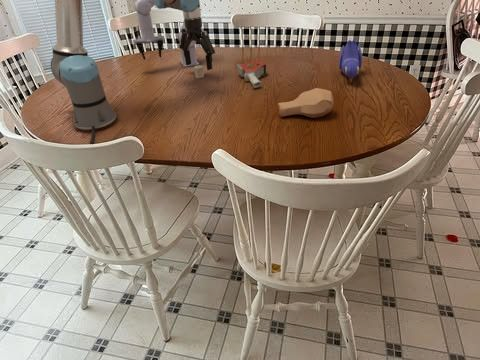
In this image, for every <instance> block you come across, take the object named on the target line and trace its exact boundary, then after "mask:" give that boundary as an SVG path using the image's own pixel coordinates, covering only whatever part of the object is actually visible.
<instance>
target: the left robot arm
mask: <svg viewBox="0 0 480 360" xmlns="http://www.w3.org/2000/svg"><path fill="white" fill-rule="evenodd" d="M153 2H154V4H155V5H154V6H155V7H156V8H157V9H159V10H163V9H173V10H178V11H182V14H183V15H182V16H183V22H184V23H185V28H183V29H182V36H181V41H180V42H179V50H181V49H182V50H183V52H184V57H185V61H186V65H190V64H191V58H190V51H189V50H187V49H188V48H189V46H190V44H191V42H192V41H193V40H194V41H196V43H198V44H199V45H200V47H201V49H202V51H204V53H205V54H206V55H205V64H206V71H210V70H212V69H213V55H214V54H216V51H215V48H214V46H213V43H212V41H211V39H210V37H209V32H208V30H204V31H203V29H202V28H203V19H202V17H201V16H202V12H201V3H200V0H153ZM54 10H55V11H54V12H55V13H54V14H55V32H56V33H55V34H56V42H55V43H56V44H54V45H53V46H52V48H51V49H52V57H51V60H50V62H49V65H50V71H51V74H52V75H53V77H54V78H55V79H56V81H58V82H59V83H60V84H61V85H63V86H64V87H65V88H66V90H67V93H68V95H69V99H70V101H71V104H72V108H73V114H72V117H73V118H72V119H73V125H74V128H75V129H76V131H78V132H84V133H91V136H90V142H89V144H90V145H91V144H92V145H94V142H95V133H96V132H99V131H102V130H105V129H107V128H110V127H111V126H113V125H115V124H116V122H117V121H118V116H117V113H116V111H115V110H114V108H113V107H112V105H111V103H110V102H109V101H108V99H107V96H106V92H105V89H104V87H103V86H104V85H103V83H102V79H101V75H100V71H99V67H98V65H97V63H96V60H95V59H94V58H93V57H91V56H89V55H88V54H89V52H88V50H87V49H86V48H85V47H84V29H83V28H84V26H83V23H84V22H83V0H54ZM184 18H185V20H184ZM187 34H188V36H187ZM186 39H187V40H186Z"/></svg>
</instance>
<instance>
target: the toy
mask: <svg viewBox="0 0 480 360" xmlns="http://www.w3.org/2000/svg"><path fill="white" fill-rule="evenodd" d="M358 42H359V40H357V39H353V40H351V39H348V40H347V41H346V45H343V44H342V47H341V49H340V52H339V55H338V69H339V70H340V71H341V72H342V73H343V74H344V75H345V76H346V77H347V78H348V79H349V83H350V84H352V82H353V79H354V78H355V77H356V76H357V75H358V74H359V73H360V70H361V68H362V65H363V53H362V47H361V46H360V44H358Z"/></svg>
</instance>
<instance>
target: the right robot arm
mask: <svg viewBox="0 0 480 360" xmlns="http://www.w3.org/2000/svg"><path fill="white" fill-rule="evenodd" d="M154 6H155V4H154V2H153V0H135V2H134V6H133V8H134V10H135V12H136V13H137V18H138V25H139V30H140V35H141V37H140V38H137V39H132V43H133V46H136V48H137V50H138V51H139V52H140V54H141V56H142V58H143V60H144V61H145V60H146V56H145V52H144V48H143V44H150V43H156V46H157V51H158V57H159V58H162V50H163V46H164V42H165V41H166V38H165V36H164V35H155V32H154V31H155V30H154V27H153V21H152V16H151V11H152V8H153V7H154ZM184 20H185V18H184V17H183V21H182V22H183V23H182V25H181V26H180V30H179V32H178V33H177V40H178V42H179V43H180V41H181V36H182V29H183V28H185V23H184ZM187 36H188V34H187ZM186 40H187V39H186ZM196 44H197V41H194V40H193V41H192V42H191V44H190V46H189V48H188V49H187V50H189V51H190V58H191V64H190V65H186V61H185V57H184V52H183V50H182V49H180V53H181V60H180V63H181V64H182V66H183V67H184V68H187V67H192V66H198V65H200V62H199V61H198V57H197V50H196Z"/></svg>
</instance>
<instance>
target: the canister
mask: <svg viewBox="0 0 480 360" xmlns="http://www.w3.org/2000/svg"><path fill="white" fill-rule="evenodd" d="M193 68H194V69H193V70H194V77H195V78H196V79H201V78H205V72H204V66H203V65H200V64H199V65H194V67H193Z"/></svg>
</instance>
